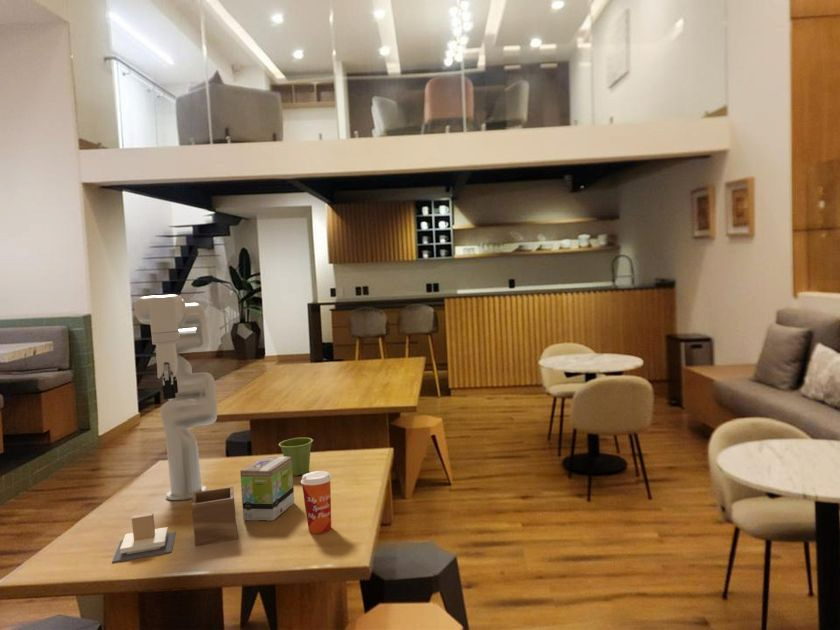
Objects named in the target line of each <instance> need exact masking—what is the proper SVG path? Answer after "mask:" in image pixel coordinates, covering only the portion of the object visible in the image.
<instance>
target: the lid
mask: <svg viewBox="0 0 840 630" xmlns="http://www.w3.org/2000/svg"><path fill="white" fill-rule="evenodd" d="M131 524H132V532H129V533H125V535H124V538H123V542H122V545H121V547H120V554H121V553H126V552H127V554H132V553H138V552H144V551H149V550H155V549H160V548H161V546H165V543H166V538H167V534H168V533H169V527H168V526H166V527H165V526H164V527H159V528H155V517H154V512H153V511H152V512H146V513H140V514H132V517H131Z"/></svg>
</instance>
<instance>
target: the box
mask: <svg viewBox="0 0 840 630" xmlns="http://www.w3.org/2000/svg"><path fill="white" fill-rule="evenodd" d="M234 493H235V491H234V487H233V486H228V487H224V488H223V487H222V488H216V489H209V490H208V489H207V491H202V492H195V493H193V498H191V514H192V527H193V535H194V536H193V537H194V546H196V547H198V546H204V545H208V544H210V545H211V544H215V543H220V542H227V541H232V540H237V539H238V529H237V525H238V524H237V516H236V505H235V504H236V503H235V494H234Z"/></svg>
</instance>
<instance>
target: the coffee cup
mask: <svg viewBox="0 0 840 630" xmlns="http://www.w3.org/2000/svg"><path fill="white" fill-rule="evenodd" d="M301 476H302V477H301V480H300V483H301V487H302V493H303V501H304V509H305V515H306V522H307V526H308V527H307V528H308V532H309V533H311V534H313V533H314V534H313V535H316V534H317V535H318V534H319V533H320V534H324V532H325V533H327V531H328V532H329V531H331V530H332V529H331V528H332V503H331V502H332V497H331V496H332V495H331V494H332V493H331V480H332V476H331V474H330V473H329V472H328V471H323V470H317V471H309V472H308V473H306V474H304V475H301ZM320 534H319V535H320Z"/></svg>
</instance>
